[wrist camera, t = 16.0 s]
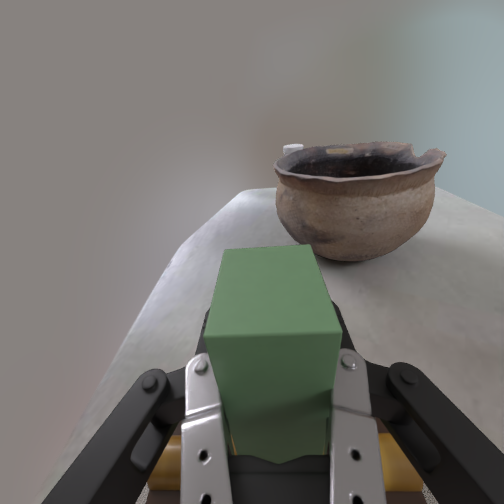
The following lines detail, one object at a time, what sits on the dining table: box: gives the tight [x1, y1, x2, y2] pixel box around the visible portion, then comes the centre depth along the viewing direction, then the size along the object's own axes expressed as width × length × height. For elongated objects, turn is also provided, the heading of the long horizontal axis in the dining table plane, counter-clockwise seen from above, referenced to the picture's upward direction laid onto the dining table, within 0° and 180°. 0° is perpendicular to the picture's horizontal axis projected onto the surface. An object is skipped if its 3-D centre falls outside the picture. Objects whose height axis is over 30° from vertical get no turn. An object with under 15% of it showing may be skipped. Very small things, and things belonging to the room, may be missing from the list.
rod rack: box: [146, 417, 427, 504], centre depth 16 cm, size 16×10×6 cm, turn 88°
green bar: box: [203, 244, 343, 464], centre depth 11 cm, size 4×5×10 cm
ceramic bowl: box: [273, 142, 446, 261], centre depth 37 cm, size 22×22×15 cm
